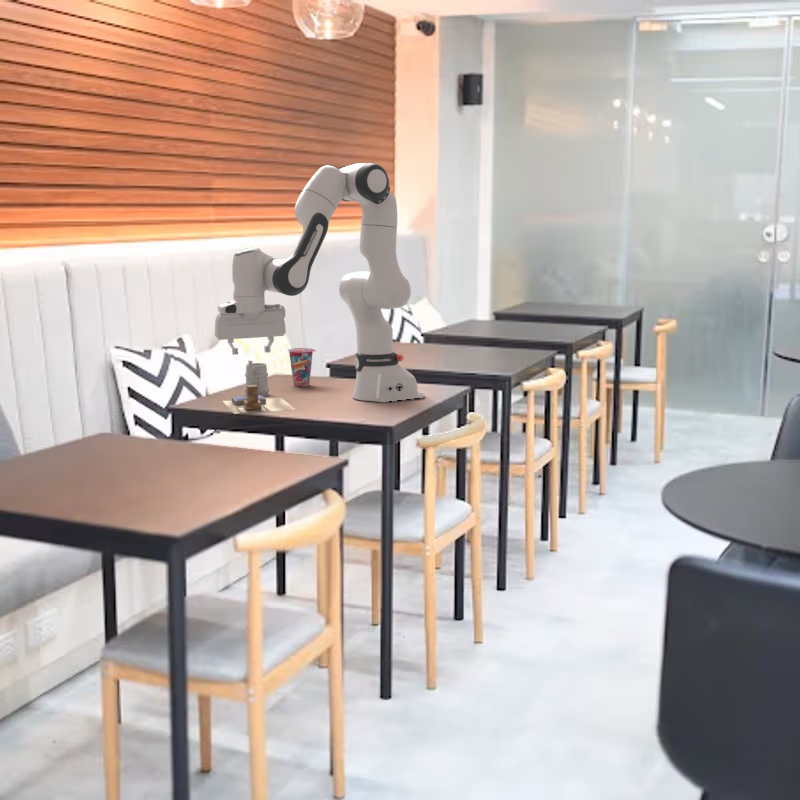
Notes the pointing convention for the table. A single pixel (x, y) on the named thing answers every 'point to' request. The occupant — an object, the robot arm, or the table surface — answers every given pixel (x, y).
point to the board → (266, 404)
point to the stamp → (252, 399)
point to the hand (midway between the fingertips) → (251, 353)
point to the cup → (301, 365)
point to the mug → (257, 377)
